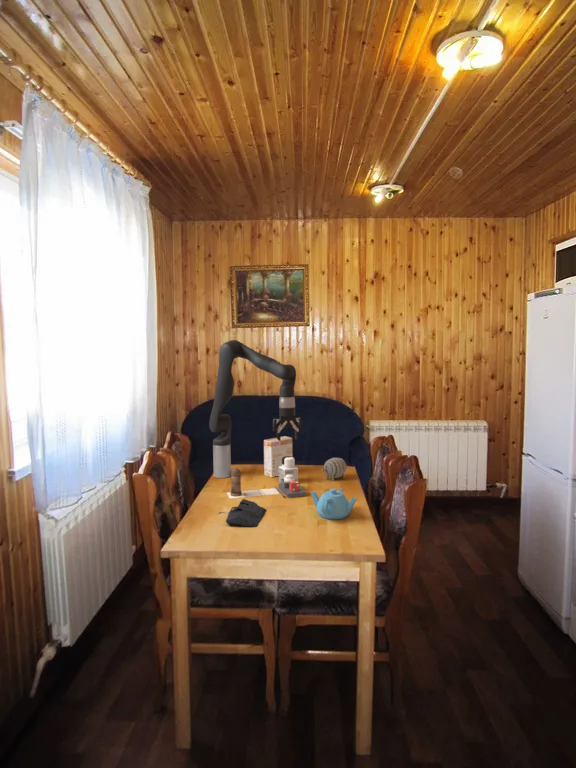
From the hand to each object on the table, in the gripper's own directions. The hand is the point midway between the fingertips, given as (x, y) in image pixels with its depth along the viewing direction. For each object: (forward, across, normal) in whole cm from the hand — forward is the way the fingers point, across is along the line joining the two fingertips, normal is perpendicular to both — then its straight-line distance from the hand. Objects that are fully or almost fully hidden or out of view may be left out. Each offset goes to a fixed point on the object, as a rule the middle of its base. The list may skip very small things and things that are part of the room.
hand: (287, 439), depth 233 cm
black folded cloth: (+26, +27, +30) cm, 48 cm away
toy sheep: (+25, -28, -12) cm, 39 cm away
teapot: (+26, -9, +37) cm, 46 cm away
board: (+25, +18, +4) cm, 31 cm away
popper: (+25, -1, +4) cm, 25 cm away
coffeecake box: (+24, -2, -30) cm, 38 cm away
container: (+25, -4, -14) cm, 28 cm away
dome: (+21, -1, 0) cm, 21 cm away
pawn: (+23, +26, +4) cm, 35 cm away
